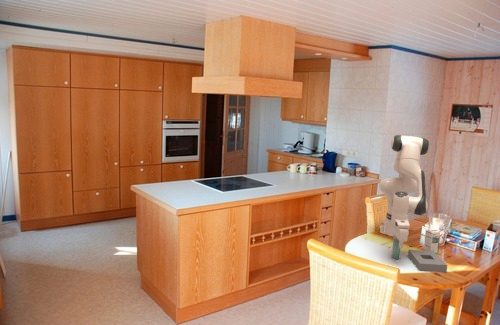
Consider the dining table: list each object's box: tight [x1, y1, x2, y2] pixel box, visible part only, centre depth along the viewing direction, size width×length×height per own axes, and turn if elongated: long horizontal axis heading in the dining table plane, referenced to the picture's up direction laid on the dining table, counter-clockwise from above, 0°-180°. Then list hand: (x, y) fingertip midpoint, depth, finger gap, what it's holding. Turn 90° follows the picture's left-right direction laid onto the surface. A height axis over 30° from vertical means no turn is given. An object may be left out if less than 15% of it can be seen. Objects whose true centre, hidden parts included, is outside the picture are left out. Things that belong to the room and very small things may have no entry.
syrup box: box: [423, 228, 441, 256], centre depth 232 cm, size 6×6×14 cm
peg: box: [391, 239, 401, 260], centre depth 224 cm, size 4×4×10 cm
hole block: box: [407, 249, 448, 273], centre depth 218 cm, size 20×14×4 cm
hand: (397, 244), depth 223 cm, fingers open, 8 cm apart
